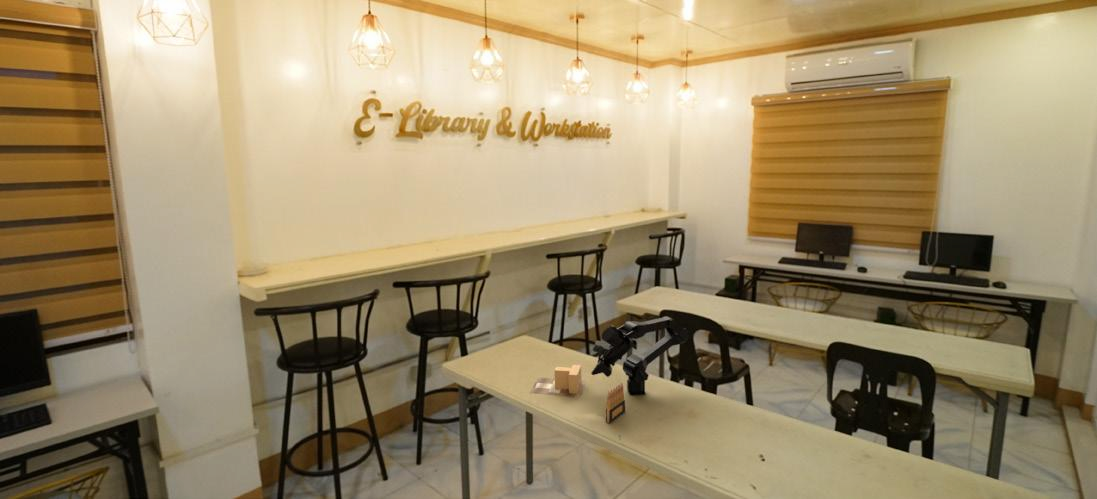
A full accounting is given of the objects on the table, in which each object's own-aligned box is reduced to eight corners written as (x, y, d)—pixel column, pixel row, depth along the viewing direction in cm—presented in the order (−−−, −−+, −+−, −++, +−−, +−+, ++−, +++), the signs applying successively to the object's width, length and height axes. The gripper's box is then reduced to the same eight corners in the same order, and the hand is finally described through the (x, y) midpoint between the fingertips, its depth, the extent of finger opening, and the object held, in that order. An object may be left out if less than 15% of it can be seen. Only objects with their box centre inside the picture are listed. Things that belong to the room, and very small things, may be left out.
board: (586, 384, 222) (586, 380, 221) (580, 400, 207) (580, 396, 207) (538, 380, 226) (538, 377, 226) (529, 396, 212) (529, 392, 212)
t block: (581, 383, 219) (581, 365, 218) (577, 393, 210) (577, 375, 208) (558, 381, 222) (557, 363, 220) (553, 391, 212) (552, 373, 210)
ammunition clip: (609, 423, 189) (609, 393, 187) (605, 422, 190) (605, 391, 188) (625, 412, 197) (625, 382, 195) (621, 410, 198) (621, 381, 196)
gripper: (606, 327, 217) (580, 351, 221) (602, 344, 199) (574, 369, 203) (625, 346, 216) (599, 369, 221) (623, 364, 199) (594, 389, 203)
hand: (592, 374), depth 212 cm, fingers closed
